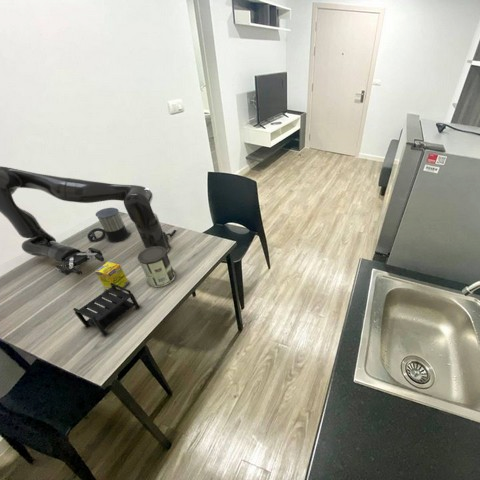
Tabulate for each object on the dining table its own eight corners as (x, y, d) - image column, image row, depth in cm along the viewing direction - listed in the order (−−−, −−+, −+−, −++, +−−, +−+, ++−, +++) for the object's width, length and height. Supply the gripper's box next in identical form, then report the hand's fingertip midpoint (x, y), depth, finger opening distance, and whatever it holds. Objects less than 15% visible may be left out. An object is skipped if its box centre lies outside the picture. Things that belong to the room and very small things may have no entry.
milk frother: (132, 237, 135) (121, 212, 126) (95, 250, 125) (81, 224, 116) (122, 225, 142) (111, 201, 133) (87, 237, 132) (72, 212, 124)
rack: (121, 299, 104) (111, 282, 98) (140, 307, 101) (131, 290, 95) (85, 326, 93) (71, 309, 87) (105, 336, 91) (92, 319, 85)
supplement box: (118, 293, 106) (107, 274, 99) (105, 290, 107) (93, 271, 100) (130, 283, 111) (120, 264, 104) (117, 280, 111) (107, 261, 105)
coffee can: (164, 267, 120) (155, 243, 111) (180, 275, 116) (171, 251, 108) (143, 281, 112) (131, 256, 104) (159, 290, 109) (148, 265, 100)
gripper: (40, 257, 102) (68, 269, 99) (78, 238, 113) (105, 248, 109) (50, 271, 107) (78, 283, 103) (86, 251, 118) (113, 262, 114)
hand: (92, 265), depth 106 cm, fingers open, 8 cm apart
